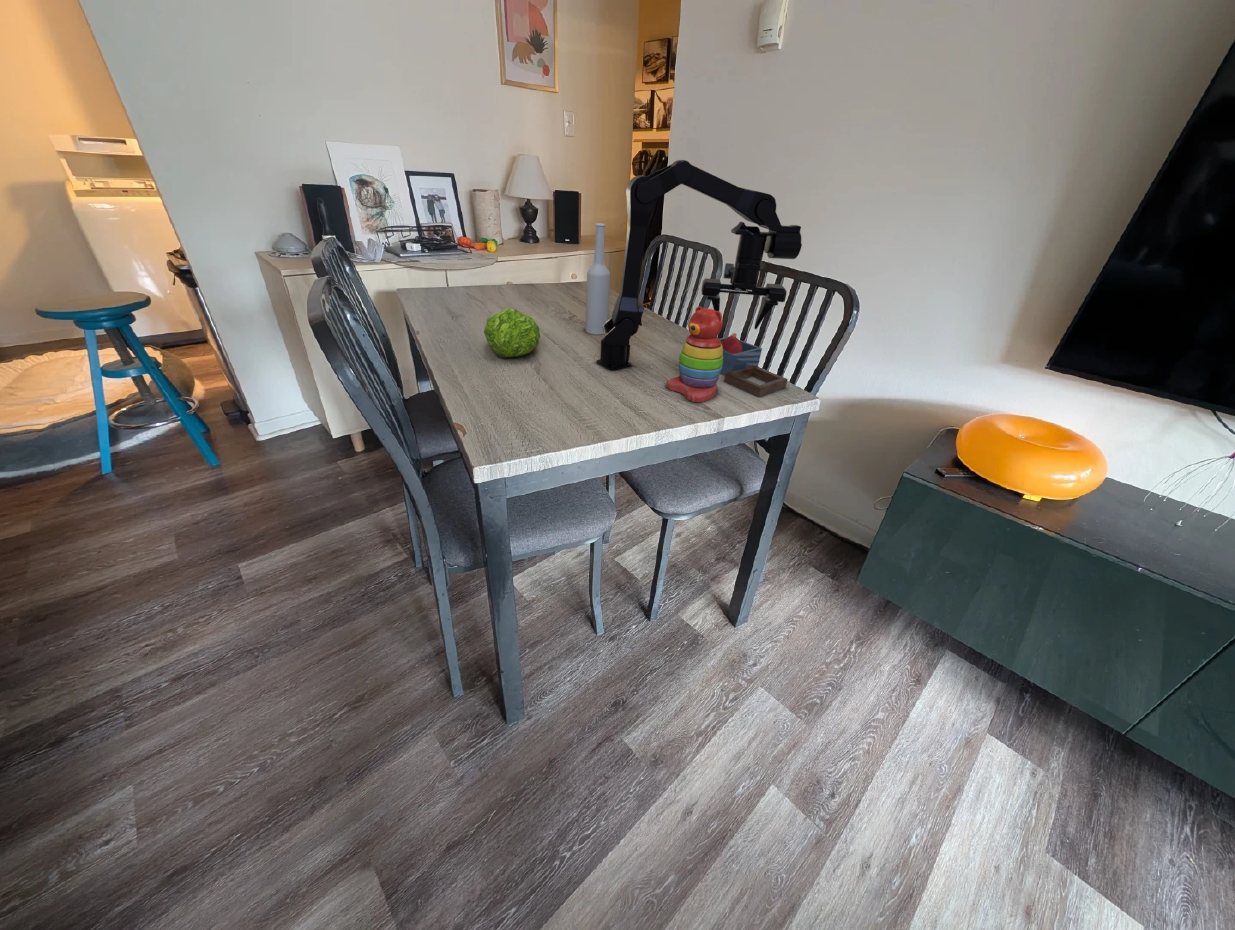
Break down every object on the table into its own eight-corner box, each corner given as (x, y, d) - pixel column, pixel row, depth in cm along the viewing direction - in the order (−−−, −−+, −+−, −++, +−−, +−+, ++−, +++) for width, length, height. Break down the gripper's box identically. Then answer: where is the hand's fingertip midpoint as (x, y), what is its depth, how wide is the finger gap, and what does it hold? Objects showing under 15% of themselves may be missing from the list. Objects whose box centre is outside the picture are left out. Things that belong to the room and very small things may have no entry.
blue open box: (730, 377, 113) (734, 355, 110) (698, 363, 119) (702, 342, 116) (757, 369, 118) (762, 348, 115) (725, 356, 125) (729, 336, 122)
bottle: (607, 335, 135) (612, 226, 120) (584, 333, 135) (586, 224, 120) (608, 328, 140) (613, 223, 125) (586, 327, 140) (588, 221, 125)
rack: (758, 397, 104) (760, 387, 103) (724, 381, 110) (725, 372, 109) (785, 387, 109) (787, 379, 108) (751, 373, 116) (753, 365, 114)
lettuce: (534, 313, 131) (494, 285, 124) (552, 335, 111) (506, 303, 104) (511, 348, 134) (470, 323, 127) (524, 376, 114) (477, 348, 107)
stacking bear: (661, 386, 106) (671, 304, 96) (694, 377, 111) (706, 300, 102) (695, 404, 99) (709, 318, 89) (728, 394, 104) (745, 312, 94)
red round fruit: (733, 370, 115) (739, 338, 111) (712, 364, 118) (717, 333, 114) (743, 364, 119) (749, 333, 115) (722, 358, 122) (728, 328, 118)
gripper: (785, 255, 111) (770, 321, 120) (706, 248, 113) (696, 314, 121) (794, 263, 102) (777, 334, 110) (707, 256, 103) (697, 327, 112)
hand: (735, 327), depth 114 cm, fingers open, 9 cm apart
